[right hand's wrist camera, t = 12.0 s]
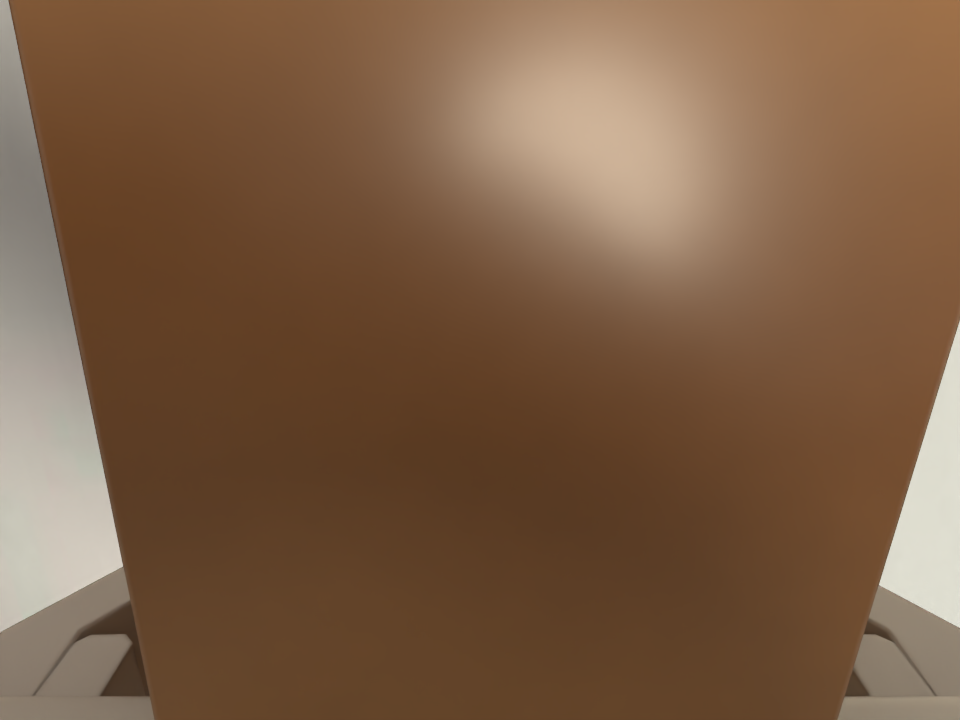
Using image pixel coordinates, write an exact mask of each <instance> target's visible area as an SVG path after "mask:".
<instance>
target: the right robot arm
mask: <svg viewBox="0 0 960 720" xmlns="http://www.w3.org/2000/svg"><path fill="white" fill-rule="evenodd" d="M0 720H154V715H153V710H152V705H151V700H150V695H149V690H148V685H147V680H146V675H145V670H144V665H143V660H142V656H141V651H140V646H139V641H138V636H137V631H136V626H135V621H134V616H133V611H132V606H131V601H130V596H129V591H128V587H127V582H126V577H125V572H124V567H122V568H120V569H118V570H116V571H114V572H112V573H110V574H108V575H107V576H105V577H103V578H101V579H99V580H97V581H95V582H93V583H92V584H90V585H88V586H86V587H84V588H82V589H80V590H79V591H77V592H75V593H73V594H71V595H69V596H67V597H65V598H64V599H62V600H60V601H58V602H56V603H54V604H52V605H50V606H49V607H47V608H45V609H43V610H41V611H39V612H37V613H35V614H34V615H32V616H30V617H28V618H26V619H24V620H22V621H21V622H19V623H17V624H15V625H13V626H11V627H9V628H7V629H6V630H4V631H2V632H1V633H0ZM837 720H960V628H958V627H957V626H955V625H953V624H951V623H949V622H947V621H945V620H943V619H942V618H940V617H938V616H936V615H934V614H932V613H930V612H928V611H926V610H925V609H923V608H921V607H919V606H917V605H915V604H913V603H911V602H910V601H908V600H906V599H904V598H902V597H900V596H898V595H896V594H894V593H893V592H891V591H889V590H887V589H885V588H883V587H881V586H879V585H878V589H877V592H876V595H875V599H874V602H873V605H872V608H871V612H870V615H869V618H868V621H867V625H866V628H865V631H864V634H863V638H862V641H861V644H860V648H859V651H858V654H857V657H856V661H855V664H854V667H853V670H852V674H851V677H850V680H849V684H848V687H847V690H846V693H845V697H844V700H843V703H842V706H841V710H840V713H839V716H838V719H837Z"/></svg>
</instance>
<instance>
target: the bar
mask: <svg viewBox="0 0 960 720" xmlns="http://www.w3.org/2000/svg"><path fill="white" fill-rule="evenodd" d="M9 5H10V10H11V15H12V20H13V25H14V30H15V35H16V40H17V45H18V50H19V54H20V59H21V64H22V69H23V74H24V79H25V84H26V89H27V94H28V99H29V104H30V109H31V114H32V119H33V123H34V128H35V133H36V138H37V143H38V148H39V153H40V158H41V163H42V168H43V173H44V178H45V183H46V187H47V192H48V197H49V202H50V207H51V212H52V217H53V222H54V227H55V232H56V237H57V242H58V247H59V252H60V256H61V261H62V266H63V271H64V276H65V281H66V286H67V291H68V296H69V301H70V306H71V311H72V316H73V321H74V325H75V330H76V335H77V340H78V345H79V350H80V355H81V360H82V365H83V370H84V375H85V380H86V385H87V389H88V394H89V399H90V404H91V409H92V414H93V419H94V424H95V429H96V434H97V439H98V444H99V449H100V454H101V458H102V463H103V468H104V473H105V478H106V483H107V488H108V493H109V498H110V503H111V508H112V513H113V518H114V523H115V527H116V532H117V537H118V542H119V547H120V552H121V557H122V562H123V567H124V572H125V577H126V582H127V587H128V591H129V596H130V601H131V606H132V611H133V616H134V621H135V626H136V631H137V636H138V641H139V646H140V651H141V656H142V660H143V665H144V670H145V675H146V680H147V685H148V690H149V695H150V700H151V705H152V710H153V715H154V720H837V719H838V716H839V713H840V710H841V706H842V703H843V700H844V697H845V693H846V690H847V687H848V684H849V680H850V677H851V674H852V670H853V667H854V664H855V661H856V657H857V654H858V651H859V648H860V644H861V641H862V638H863V634H864V631H865V628H866V625H867V621H868V618H869V615H870V612H871V608H872V605H873V602H874V599H875V595H876V592H877V589H878V585H879V582H880V579H881V576H882V572H883V569H884V566H885V563H886V559H887V556H888V553H889V549H890V546H891V543H892V540H893V536H894V533H895V530H896V527H897V523H898V520H899V517H900V514H901V510H902V507H903V504H904V500H905V497H906V494H907V491H908V487H909V484H910V481H911V478H912V474H913V471H914V468H915V465H916V461H917V458H918V455H919V451H920V448H921V445H922V442H923V438H924V435H925V432H926V429H927V425H928V422H929V419H930V415H931V412H932V409H933V406H934V402H935V399H936V396H937V393H938V389H939V386H940V383H941V380H942V376H943V373H944V370H945V366H946V363H947V360H948V357H949V353H950V350H951V347H952V344H953V340H954V337H955V334H956V330H957V327H958V324H959V321H960V0H9Z"/></svg>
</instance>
